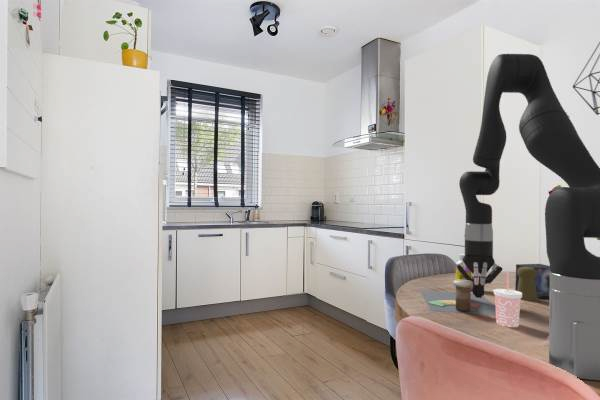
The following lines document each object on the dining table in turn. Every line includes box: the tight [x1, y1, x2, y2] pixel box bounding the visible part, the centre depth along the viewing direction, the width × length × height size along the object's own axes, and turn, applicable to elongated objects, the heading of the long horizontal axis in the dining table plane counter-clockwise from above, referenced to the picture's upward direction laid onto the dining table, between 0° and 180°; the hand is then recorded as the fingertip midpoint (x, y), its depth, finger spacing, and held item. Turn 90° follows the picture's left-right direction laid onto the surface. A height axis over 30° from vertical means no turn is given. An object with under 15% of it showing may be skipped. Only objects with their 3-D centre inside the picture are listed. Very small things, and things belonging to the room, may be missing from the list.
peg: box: [453, 278, 473, 311], centre depth 104 cm, size 17×5×8 cm, turn 151°
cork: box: [517, 267, 539, 302], centre depth 112 cm, size 6×6×11 cm
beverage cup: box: [493, 270, 522, 328], centre depth 88 cm, size 6×6×14 cm
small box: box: [514, 263, 550, 300], centre depth 120 cm, size 11×6×10 cm, turn 105°
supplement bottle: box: [455, 253, 473, 291], centre depth 126 cm, size 7×7×13 cm
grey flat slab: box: [419, 289, 496, 316], centre depth 108 cm, size 24×19×2 cm
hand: (478, 296), depth 108 cm, fingers closed
